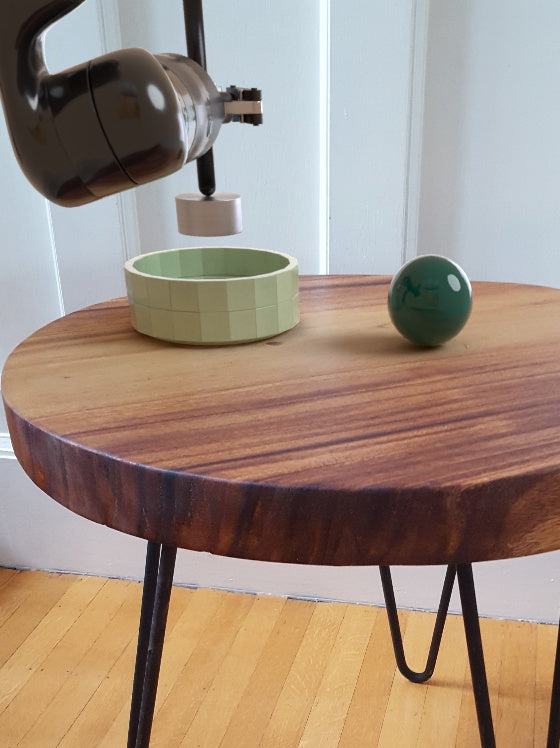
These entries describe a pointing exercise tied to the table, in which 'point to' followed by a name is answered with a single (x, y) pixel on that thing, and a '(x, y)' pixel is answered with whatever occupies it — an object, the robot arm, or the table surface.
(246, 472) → the table surface
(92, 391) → the table surface
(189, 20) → the joystick
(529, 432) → the table surface
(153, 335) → the bowl
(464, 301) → the sphere
